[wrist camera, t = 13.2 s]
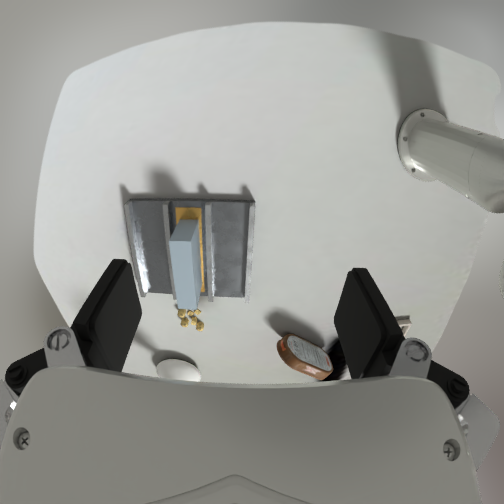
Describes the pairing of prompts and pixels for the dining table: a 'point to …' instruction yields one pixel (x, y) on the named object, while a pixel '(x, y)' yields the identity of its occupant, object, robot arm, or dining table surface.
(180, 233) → the blue-grey rectangular block
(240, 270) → the rack
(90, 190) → the dining table surface
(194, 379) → the flower in vase
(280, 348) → the tin
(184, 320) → the dice set
